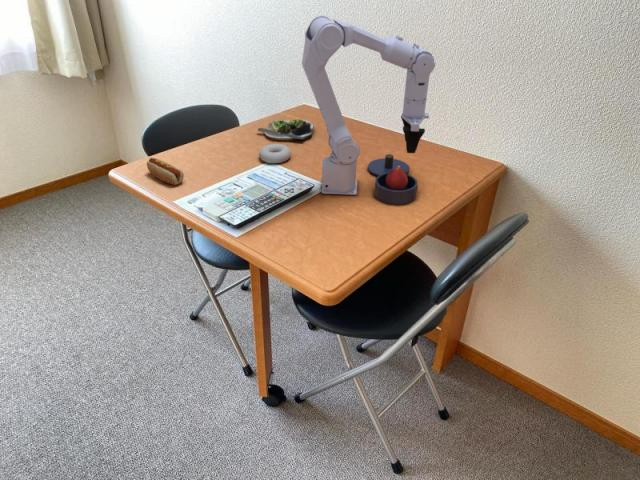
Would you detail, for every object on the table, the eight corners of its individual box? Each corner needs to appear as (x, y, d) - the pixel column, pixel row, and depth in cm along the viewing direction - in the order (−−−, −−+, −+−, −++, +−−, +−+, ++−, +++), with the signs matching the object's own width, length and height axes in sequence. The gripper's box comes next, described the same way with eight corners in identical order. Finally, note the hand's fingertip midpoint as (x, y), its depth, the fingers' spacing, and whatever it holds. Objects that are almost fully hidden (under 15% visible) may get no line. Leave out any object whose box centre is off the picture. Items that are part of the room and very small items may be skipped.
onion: (382, 195, 129) (384, 168, 124) (387, 186, 133) (390, 160, 129) (403, 199, 127) (406, 172, 123) (408, 189, 132) (411, 163, 127)
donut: (255, 164, 147) (286, 166, 145) (254, 153, 145) (286, 155, 143) (265, 151, 155) (294, 153, 153) (264, 141, 153) (294, 142, 151)
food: (144, 174, 141) (141, 159, 138) (160, 168, 144) (157, 153, 141) (172, 189, 133) (169, 173, 130) (188, 182, 137) (186, 166, 134)
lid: (367, 178, 138) (368, 164, 136) (367, 160, 148) (368, 146, 146) (410, 180, 137) (411, 165, 135) (407, 162, 148) (409, 148, 145)
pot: (374, 203, 126) (375, 190, 124) (374, 184, 136) (375, 171, 133) (417, 205, 125) (419, 192, 123) (414, 185, 135) (415, 172, 132)
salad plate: (254, 143, 160) (252, 130, 158) (261, 123, 175) (260, 111, 172) (311, 144, 159) (311, 130, 157) (314, 124, 174) (314, 112, 172)
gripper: (434, 107, 117) (427, 158, 125) (428, 89, 129) (422, 137, 137) (405, 106, 118) (400, 157, 126) (402, 89, 130) (397, 136, 138)
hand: (409, 146), depth 131 cm, fingers open, 7 cm apart
